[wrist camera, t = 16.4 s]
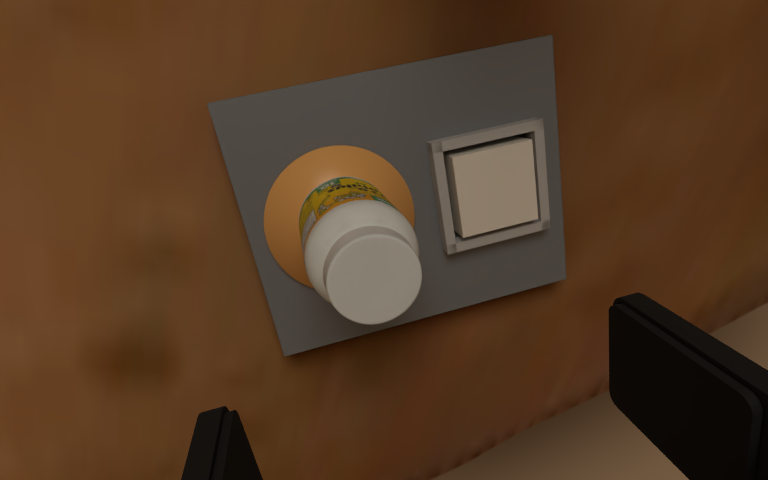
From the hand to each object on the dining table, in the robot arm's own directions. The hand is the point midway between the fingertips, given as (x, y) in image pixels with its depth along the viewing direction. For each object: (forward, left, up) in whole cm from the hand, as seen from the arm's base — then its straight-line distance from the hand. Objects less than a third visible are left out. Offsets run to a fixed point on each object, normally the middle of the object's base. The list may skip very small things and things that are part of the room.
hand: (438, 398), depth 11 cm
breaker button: (-9, 0, -20) cm, 21 cm away
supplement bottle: (0, 0, -18) cm, 18 cm away
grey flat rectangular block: (-4, 0, -20) cm, 20 cm away
